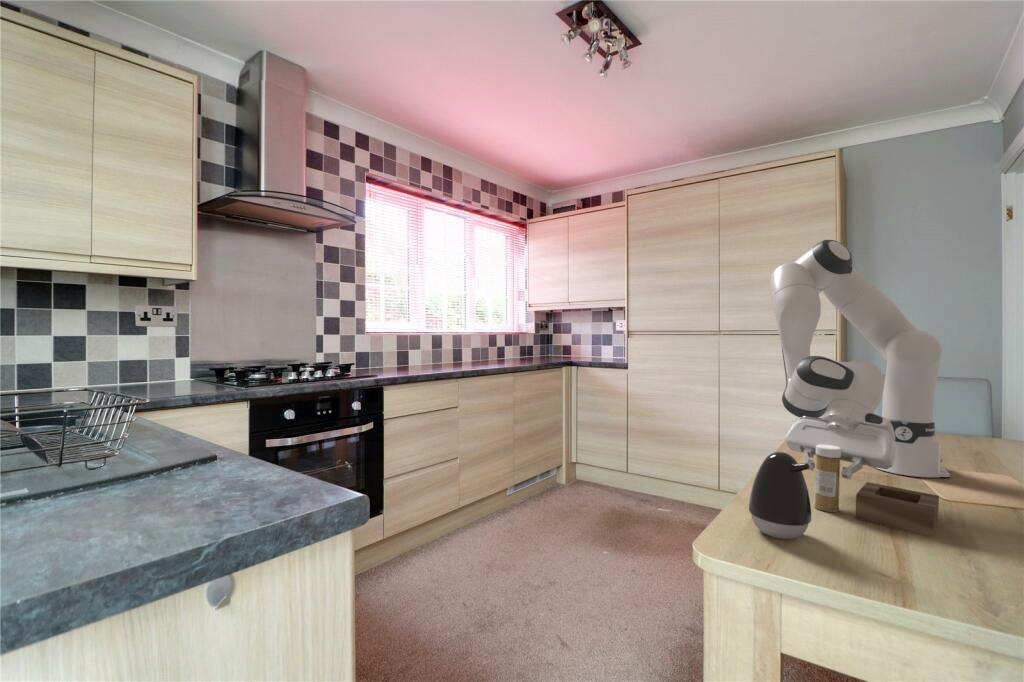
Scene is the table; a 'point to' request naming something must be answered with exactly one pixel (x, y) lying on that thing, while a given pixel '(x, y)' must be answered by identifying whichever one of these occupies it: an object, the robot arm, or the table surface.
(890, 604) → the table surface
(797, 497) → the pump dispenser
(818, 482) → the sprinkles bottle
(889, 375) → the robot arm
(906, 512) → the spice caddy
